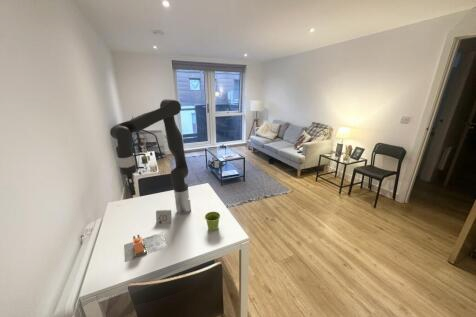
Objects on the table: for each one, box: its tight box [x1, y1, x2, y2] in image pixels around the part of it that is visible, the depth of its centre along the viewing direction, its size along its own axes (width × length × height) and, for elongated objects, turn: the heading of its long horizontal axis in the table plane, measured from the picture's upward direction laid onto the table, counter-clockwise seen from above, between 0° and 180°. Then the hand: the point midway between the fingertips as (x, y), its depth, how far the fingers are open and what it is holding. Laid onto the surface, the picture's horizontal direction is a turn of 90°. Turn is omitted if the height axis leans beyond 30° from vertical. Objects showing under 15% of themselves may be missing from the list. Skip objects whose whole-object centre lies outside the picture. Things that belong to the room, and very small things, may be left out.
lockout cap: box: [132, 236, 144, 255], centre depth 101 cm, size 4×4×8 cm
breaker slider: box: [132, 234, 141, 241], centre depth 107 cm, size 3×4×5 cm
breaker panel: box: [123, 232, 168, 263], centre depth 107 cm, size 20×13×3 cm, turn 120°
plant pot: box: [204, 211, 221, 232], centre depth 121 cm, size 9×9×9 cm
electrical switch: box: [155, 209, 172, 224], centre depth 126 cm, size 9×5×9 cm, turn 90°
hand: (132, 191), depth 108 cm, fingers open, 8 cm apart
